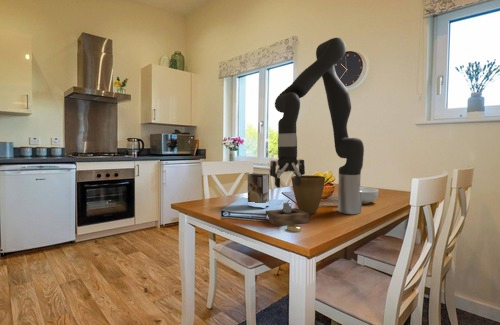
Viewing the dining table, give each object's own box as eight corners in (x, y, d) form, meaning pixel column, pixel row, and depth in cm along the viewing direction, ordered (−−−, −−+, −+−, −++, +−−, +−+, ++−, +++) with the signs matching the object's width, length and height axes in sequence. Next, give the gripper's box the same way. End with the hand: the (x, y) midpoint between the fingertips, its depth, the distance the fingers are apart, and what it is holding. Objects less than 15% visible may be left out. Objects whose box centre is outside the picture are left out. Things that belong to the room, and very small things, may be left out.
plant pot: (325, 209, 129) (325, 175, 128) (323, 217, 115) (324, 179, 114) (293, 207, 133) (294, 174, 132) (288, 214, 119) (288, 177, 118)
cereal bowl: (346, 198, 156) (346, 185, 156) (378, 200, 149) (378, 187, 148) (342, 203, 141) (342, 190, 141) (377, 207, 134) (378, 192, 133)
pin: (288, 219, 111) (288, 202, 111) (292, 221, 108) (292, 204, 108) (281, 220, 110) (281, 203, 109) (285, 222, 107) (285, 204, 106)
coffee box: (269, 206, 134) (270, 174, 133) (263, 209, 129) (263, 175, 128) (254, 204, 139) (254, 172, 138) (247, 206, 134) (247, 174, 133)
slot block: (295, 216, 116) (295, 208, 116) (309, 222, 107) (309, 213, 107) (265, 219, 111) (265, 210, 111) (276, 226, 102) (276, 217, 102)
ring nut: (296, 227, 101) (296, 223, 101) (304, 231, 96) (304, 227, 96) (284, 229, 99) (284, 225, 99) (291, 233, 94) (291, 229, 94)
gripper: (298, 145, 113) (298, 184, 114) (266, 145, 108) (267, 186, 109) (308, 145, 106) (308, 186, 107) (275, 145, 101) (275, 189, 102)
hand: (287, 186), depth 108 cm, fingers open, 8 cm apart
